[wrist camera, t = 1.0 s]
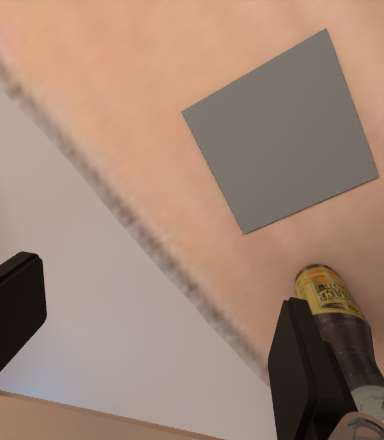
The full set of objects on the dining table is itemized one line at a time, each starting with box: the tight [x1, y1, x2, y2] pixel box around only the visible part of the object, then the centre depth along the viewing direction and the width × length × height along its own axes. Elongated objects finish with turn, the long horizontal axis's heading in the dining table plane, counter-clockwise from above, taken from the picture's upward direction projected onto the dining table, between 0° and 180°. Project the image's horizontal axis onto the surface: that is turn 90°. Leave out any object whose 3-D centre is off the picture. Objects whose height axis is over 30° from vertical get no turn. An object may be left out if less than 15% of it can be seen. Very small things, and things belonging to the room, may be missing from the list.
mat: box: [181, 28, 379, 234], centre depth 37 cm, size 18×18×1 cm
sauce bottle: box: [295, 264, 384, 421], centre depth 33 cm, size 7×6×20 cm
